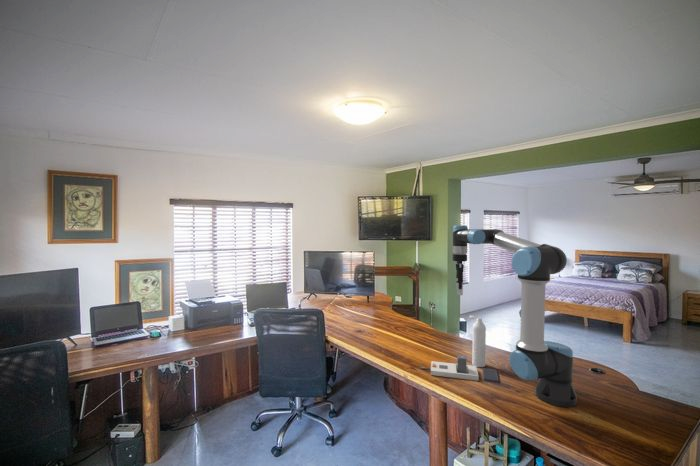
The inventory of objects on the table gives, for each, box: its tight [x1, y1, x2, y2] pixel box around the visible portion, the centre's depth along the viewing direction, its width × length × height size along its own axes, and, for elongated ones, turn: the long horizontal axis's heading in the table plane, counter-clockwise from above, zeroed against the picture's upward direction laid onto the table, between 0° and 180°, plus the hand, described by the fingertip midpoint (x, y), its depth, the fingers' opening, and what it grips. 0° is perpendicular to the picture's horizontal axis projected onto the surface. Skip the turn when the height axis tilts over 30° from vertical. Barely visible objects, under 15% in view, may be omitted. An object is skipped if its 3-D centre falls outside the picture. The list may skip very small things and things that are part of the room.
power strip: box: [419, 360, 480, 382], centre depth 169 cm, size 28×12×3 cm, turn 75°
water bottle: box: [469, 315, 487, 368], centre depth 178 cm, size 9×6×25 cm
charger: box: [456, 354, 467, 374], centre depth 167 cm, size 4×4×8 cm
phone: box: [482, 367, 499, 383], centre depth 164 cm, size 6×12×2 cm, turn 161°
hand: (459, 292), depth 184 cm, fingers open, 13 cm apart
